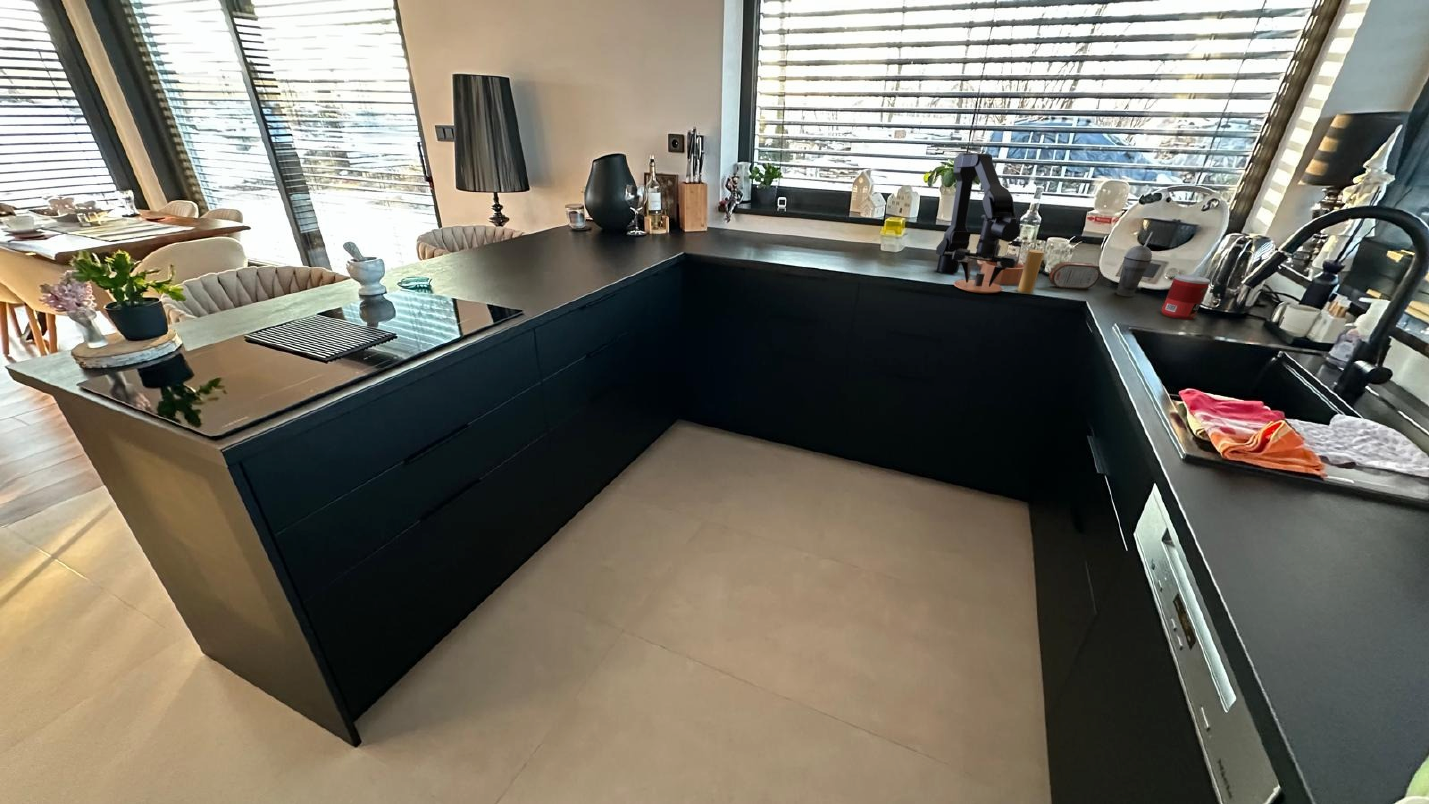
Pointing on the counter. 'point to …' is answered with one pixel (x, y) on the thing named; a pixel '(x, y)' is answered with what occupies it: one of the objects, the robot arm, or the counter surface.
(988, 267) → the pot
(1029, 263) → the eggroll
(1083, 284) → the tin
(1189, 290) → the canned food
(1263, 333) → the counter surface
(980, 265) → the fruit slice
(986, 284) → the lid
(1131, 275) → the beverage cup
